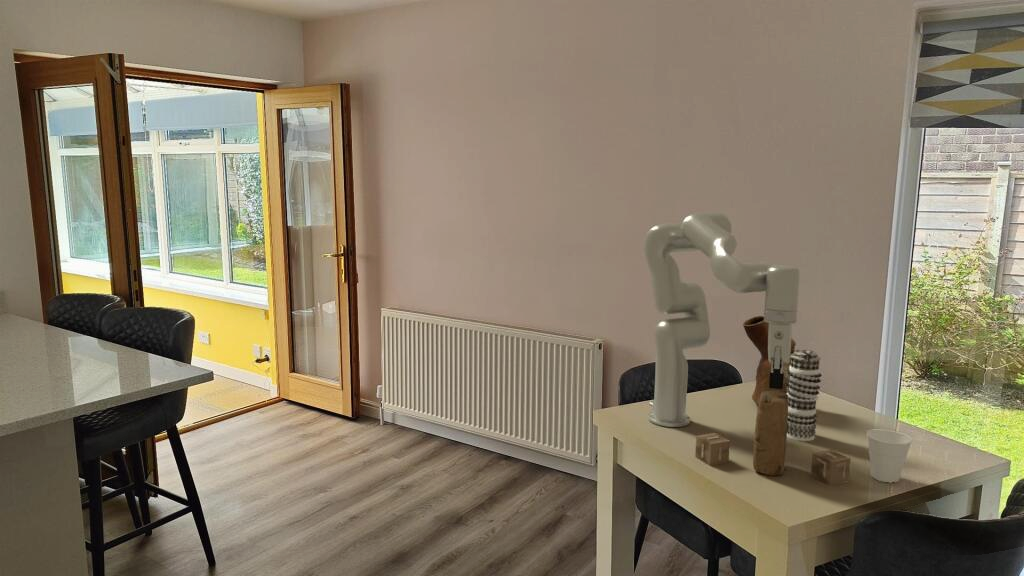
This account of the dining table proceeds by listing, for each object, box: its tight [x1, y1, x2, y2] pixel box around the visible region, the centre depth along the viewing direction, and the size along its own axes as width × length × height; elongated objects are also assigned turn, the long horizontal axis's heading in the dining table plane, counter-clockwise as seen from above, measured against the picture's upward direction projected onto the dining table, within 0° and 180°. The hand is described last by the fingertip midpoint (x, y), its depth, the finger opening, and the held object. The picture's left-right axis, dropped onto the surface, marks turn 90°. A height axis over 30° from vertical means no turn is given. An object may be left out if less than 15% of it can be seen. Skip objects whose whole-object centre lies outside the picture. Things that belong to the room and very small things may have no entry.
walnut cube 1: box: [694, 432, 731, 467], centre depth 180 cm, size 6×6×6 cm
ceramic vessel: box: [742, 315, 797, 406], centre depth 222 cm, size 16×22×30 cm
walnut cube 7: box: [810, 449, 851, 486], centre depth 170 cm, size 6×6×6 cm
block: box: [752, 391, 788, 476], centre depth 174 cm, size 11×8×20 cm
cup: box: [866, 428, 913, 484], centre depth 170 cm, size 10×10×11 cm
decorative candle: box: [786, 348, 822, 442], centre depth 197 cm, size 9×9×25 cm
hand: (775, 387), depth 172 cm, fingers closed
